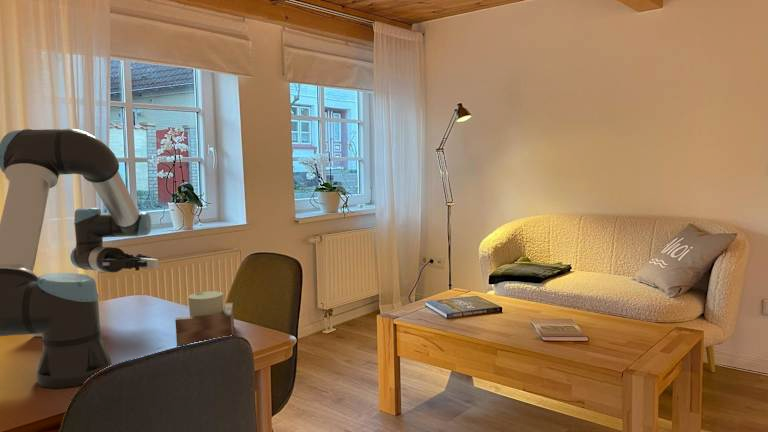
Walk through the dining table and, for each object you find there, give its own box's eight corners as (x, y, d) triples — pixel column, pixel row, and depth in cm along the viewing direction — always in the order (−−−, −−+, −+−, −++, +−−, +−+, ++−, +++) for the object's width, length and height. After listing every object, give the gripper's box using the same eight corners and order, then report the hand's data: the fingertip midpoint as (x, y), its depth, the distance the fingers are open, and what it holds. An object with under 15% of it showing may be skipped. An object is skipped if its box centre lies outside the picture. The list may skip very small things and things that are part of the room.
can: (210, 329, 169) (208, 288, 168) (232, 334, 164) (230, 291, 163) (183, 337, 162) (180, 294, 161) (205, 343, 157) (202, 298, 155)
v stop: (173, 345, 156) (171, 319, 155) (230, 325, 172) (229, 302, 172) (202, 351, 150) (200, 324, 149) (258, 331, 166) (257, 306, 165)
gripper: (128, 268, 187) (176, 273, 174) (88, 275, 176) (136, 281, 163) (126, 244, 186) (174, 248, 173) (86, 250, 175) (134, 254, 162)
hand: (156, 264), depth 168 cm, fingers closed
